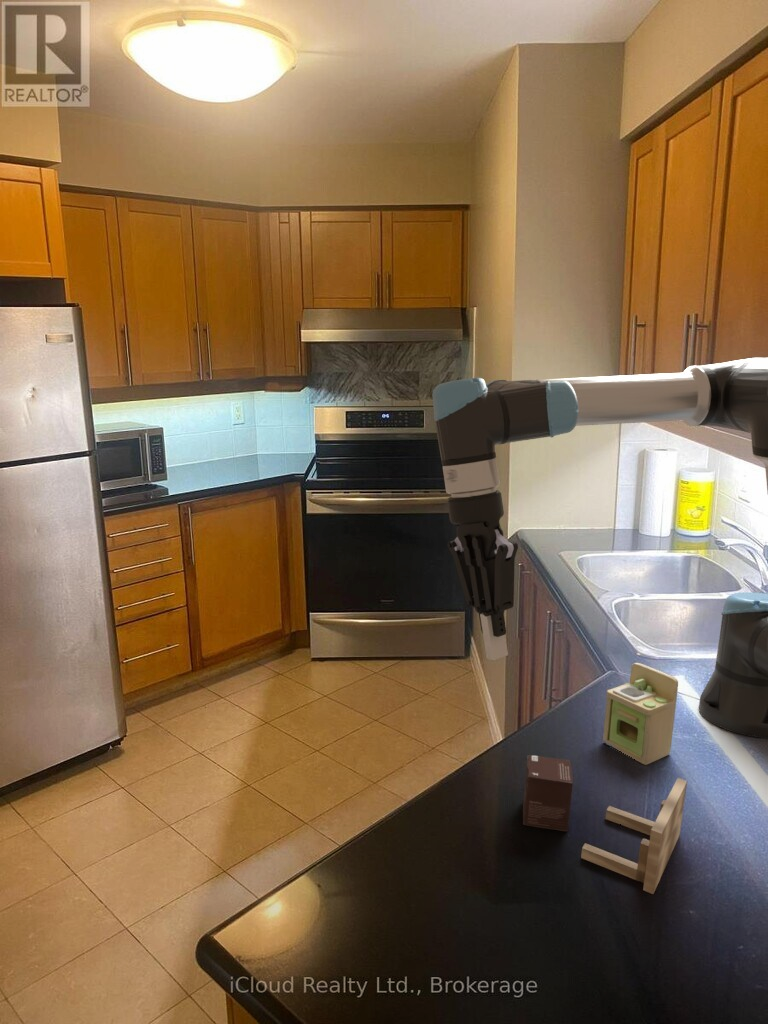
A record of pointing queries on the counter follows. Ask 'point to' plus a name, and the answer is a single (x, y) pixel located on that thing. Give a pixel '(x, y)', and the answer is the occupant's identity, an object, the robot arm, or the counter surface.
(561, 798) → the box
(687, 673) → the counter surface
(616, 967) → the counter surface
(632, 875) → the rack
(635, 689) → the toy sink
